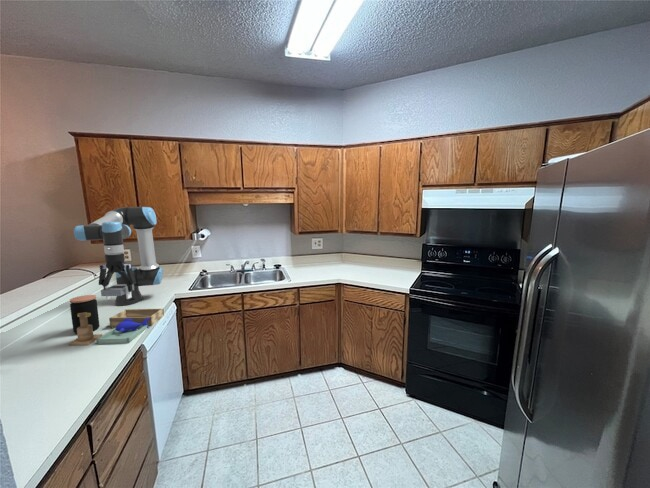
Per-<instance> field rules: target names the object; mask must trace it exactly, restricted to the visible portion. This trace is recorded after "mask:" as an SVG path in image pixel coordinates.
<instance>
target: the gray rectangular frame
mask: <svg viewBox="0 0 650 488" xmlns="http://www.w3.org/2000/svg"><path fill="white" fill-rule="evenodd" d="M126 285H127V284H117V283H116V284H113V285H111V286H110V287H108V288H105V289H104V288H102V289H101V290H100V295H101V297H106V296H112V297H117V296H122V295H124V294H126V288H125V286H126ZM132 289H133V290H134V284H132ZM133 290H132V291H133Z"/></svg>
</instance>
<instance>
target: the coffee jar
mask: <svg viewBox="0 0 650 488" xmlns="http://www.w3.org/2000/svg"><path fill="white" fill-rule="evenodd" d="M69 303H70V304H69V305H70V307H69V308H70V315H71V324H72V331H73V333H74V334H76V335H77V328H78V327H80V318H79V317H78V315H77V314H78V313H83V312H87V313H91V316H89V317H87V319H88V325H92V327H93V332H95V331H97V330H98V329H99V328H100V318H99V309H98V301H97V295H95V294H84V295H80V296H75V297H72V298H70V299H69Z"/></svg>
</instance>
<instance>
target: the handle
mask: <svg viewBox="0 0 650 488" xmlns="http://www.w3.org/2000/svg"><path fill="white" fill-rule="evenodd" d="M77 315H78V317H79V318H80V327H78V328H77V334H76V335H77V338H76V339H74V340H72V341H70V342H69V343H68V346H89V345H90V344H92V343H94V342H95V341H96V339H97V338H99V337H101V336H102V335H103V334H102V333H101V334H99V333H98V334H94V331H93V327H92V325H88V319H87V317H89V316H91V313H87V312H83V313H78V314H77Z"/></svg>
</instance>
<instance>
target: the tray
mask: <svg viewBox="0 0 650 488" xmlns="http://www.w3.org/2000/svg"><path fill="white" fill-rule="evenodd" d="M137 328H138V329H136V330H134V331H132V330H128V331H116V330H115V328H111V329H110V330H108V332H106V333H104V334H102V336H101V337H99V338H97V339H96V340H95V341H96V342H95V343H96V345H109V344H111V345H114V344H117V345H119V344H131V342H132V341H133V340H135V339H136V338H137V337H139V336H140V335H141V334H142V333H143V332H145V331H146V330H147V329H148V328H147V325H146V326H143V325H140V326H138V327H137Z"/></svg>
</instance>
